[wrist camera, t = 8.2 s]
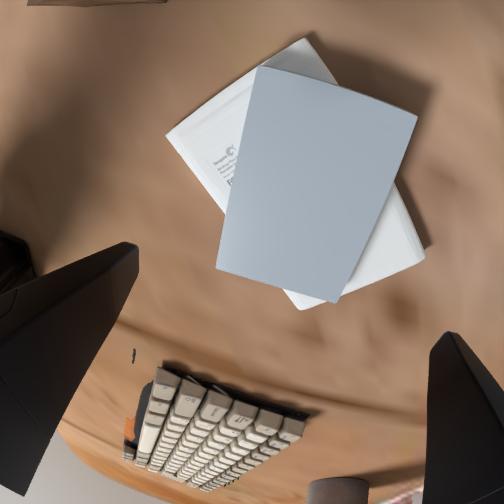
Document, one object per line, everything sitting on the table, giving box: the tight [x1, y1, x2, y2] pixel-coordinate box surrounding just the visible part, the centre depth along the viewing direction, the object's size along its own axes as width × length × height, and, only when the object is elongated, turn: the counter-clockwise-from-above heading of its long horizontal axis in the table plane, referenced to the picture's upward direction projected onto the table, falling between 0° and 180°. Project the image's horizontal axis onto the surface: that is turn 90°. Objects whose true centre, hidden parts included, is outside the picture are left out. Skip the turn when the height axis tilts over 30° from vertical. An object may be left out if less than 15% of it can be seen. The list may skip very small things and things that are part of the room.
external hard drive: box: [166, 38, 426, 310], centre depth 16 cm, size 2×8×12 cm
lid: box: [216, 65, 418, 304], centre depth 14 cm, size 7×10×1 cm, turn 168°
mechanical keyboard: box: [123, 349, 310, 492], centre depth 37 cm, size 38×19×3 cm, turn 160°
